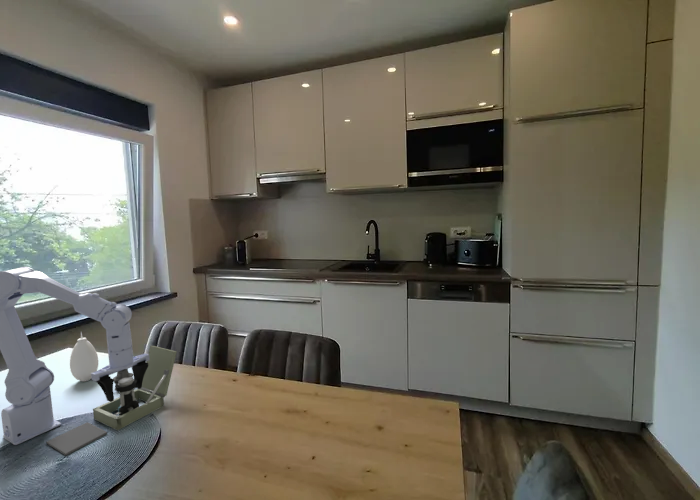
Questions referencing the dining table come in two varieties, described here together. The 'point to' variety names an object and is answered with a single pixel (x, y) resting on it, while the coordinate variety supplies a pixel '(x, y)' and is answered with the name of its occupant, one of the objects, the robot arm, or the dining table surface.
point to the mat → (76, 438)
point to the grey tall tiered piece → (122, 375)
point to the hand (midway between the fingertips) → (124, 393)
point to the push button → (126, 395)
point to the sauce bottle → (83, 360)
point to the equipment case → (142, 391)
